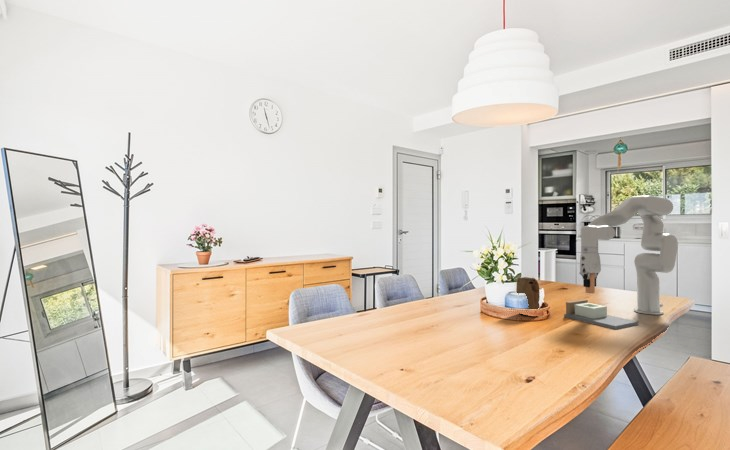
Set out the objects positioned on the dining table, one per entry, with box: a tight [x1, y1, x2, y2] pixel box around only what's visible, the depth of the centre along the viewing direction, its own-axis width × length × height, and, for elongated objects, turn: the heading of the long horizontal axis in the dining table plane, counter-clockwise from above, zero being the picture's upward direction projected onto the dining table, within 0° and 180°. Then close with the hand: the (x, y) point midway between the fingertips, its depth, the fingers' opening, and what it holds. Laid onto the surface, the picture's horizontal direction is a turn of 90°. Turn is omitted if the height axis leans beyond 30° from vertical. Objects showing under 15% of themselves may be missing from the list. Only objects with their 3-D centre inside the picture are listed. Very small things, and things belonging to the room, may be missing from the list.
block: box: [516, 276, 541, 309], centre depth 199 cm, size 11×8×20 cm
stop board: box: [563, 299, 639, 330], centre depth 186 cm, size 17×26×8 cm, turn 24°
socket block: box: [575, 302, 608, 319], centre depth 190 cm, size 10×10×5 cm
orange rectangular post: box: [584, 272, 596, 294], centre depth 190 cm, size 4×4×10 cm
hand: (589, 286), depth 190 cm, fingers closed on orange rectangular post, 4 cm apart
